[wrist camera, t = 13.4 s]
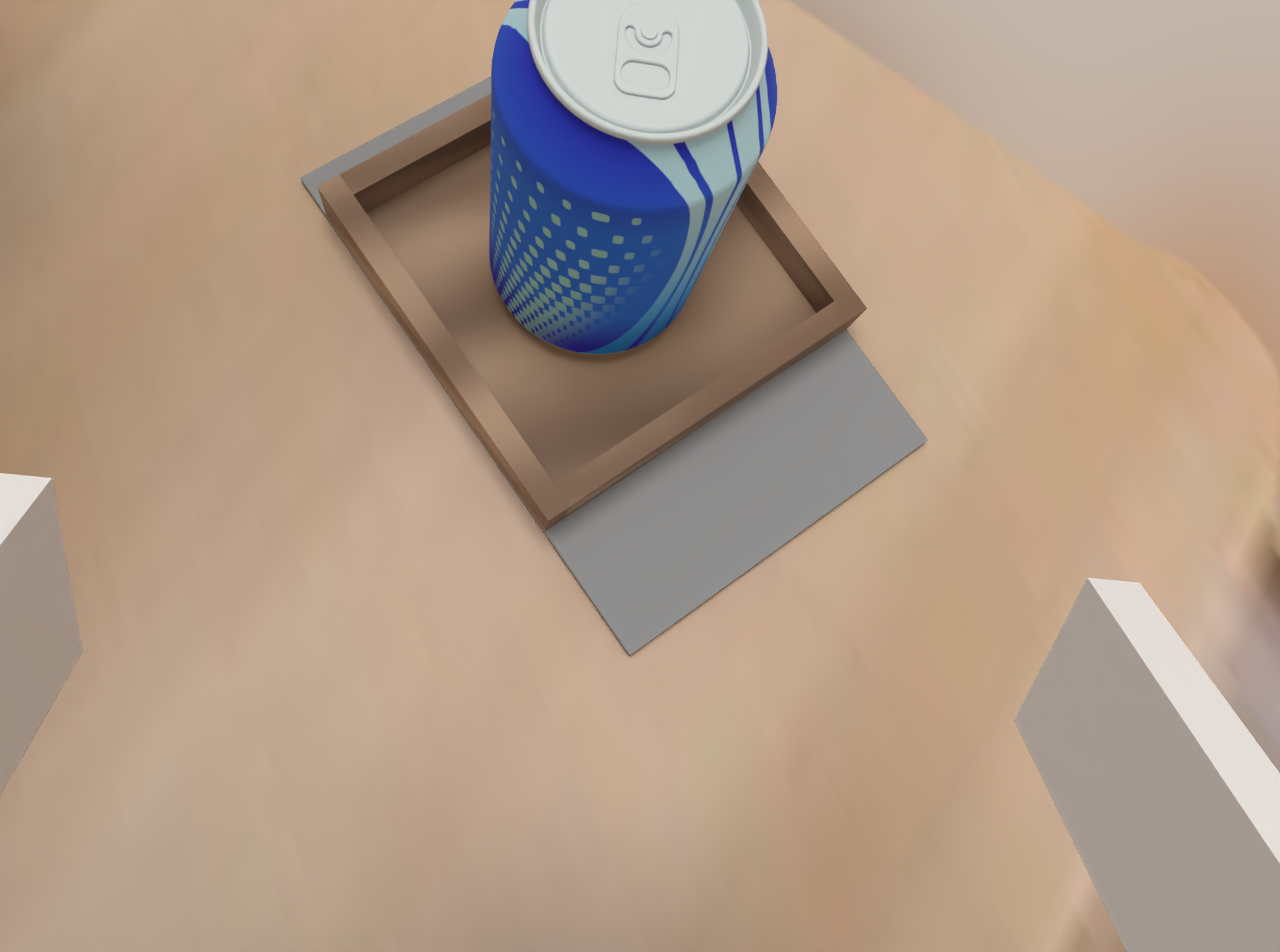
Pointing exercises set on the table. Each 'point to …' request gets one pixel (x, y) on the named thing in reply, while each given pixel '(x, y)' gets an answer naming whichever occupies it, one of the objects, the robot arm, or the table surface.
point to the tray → (557, 378)
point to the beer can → (619, 158)
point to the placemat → (711, 468)
